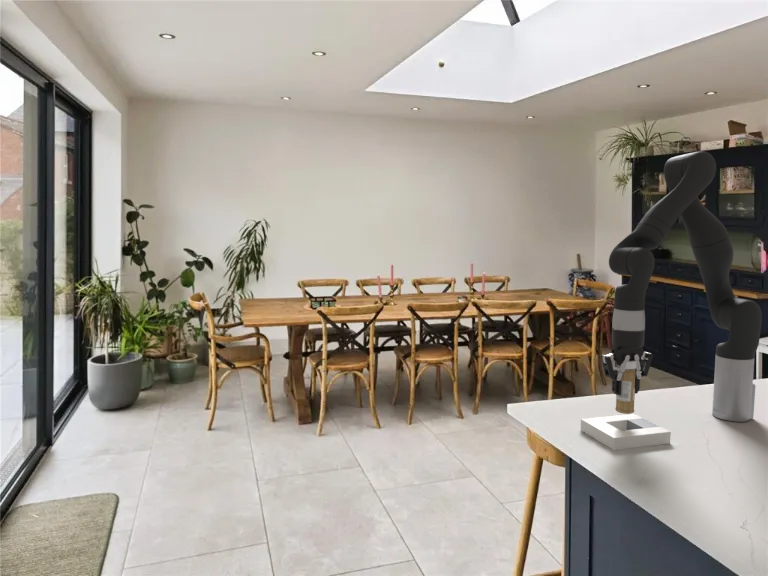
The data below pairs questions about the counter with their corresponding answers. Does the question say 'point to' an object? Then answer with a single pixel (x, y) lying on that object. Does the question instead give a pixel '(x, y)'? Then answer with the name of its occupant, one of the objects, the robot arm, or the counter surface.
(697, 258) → the robot arm
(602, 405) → the counter surface
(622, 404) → the sprinkles bottle
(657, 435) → the housing
